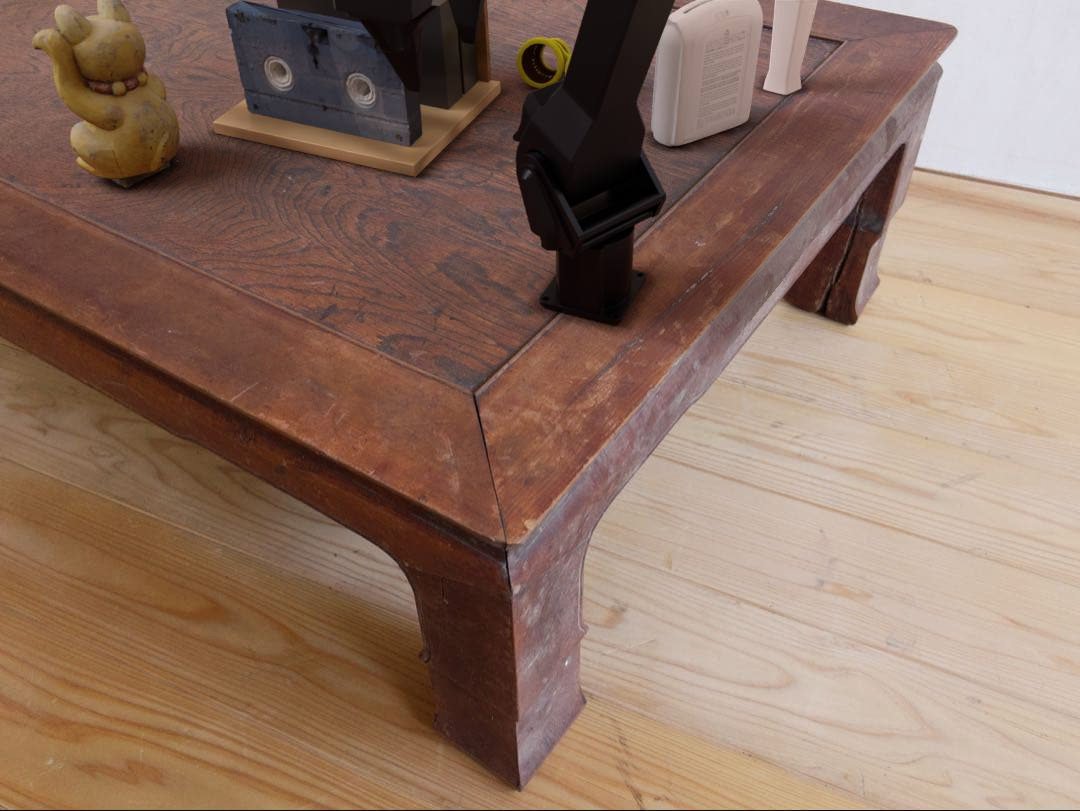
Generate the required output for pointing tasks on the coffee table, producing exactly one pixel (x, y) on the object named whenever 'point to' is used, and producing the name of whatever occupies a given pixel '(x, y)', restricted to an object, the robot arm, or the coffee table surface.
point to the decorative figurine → (110, 93)
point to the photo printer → (705, 69)
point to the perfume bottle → (789, 44)
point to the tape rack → (445, 97)
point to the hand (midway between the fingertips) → (442, 65)
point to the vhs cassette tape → (320, 74)
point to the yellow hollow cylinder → (542, 61)
